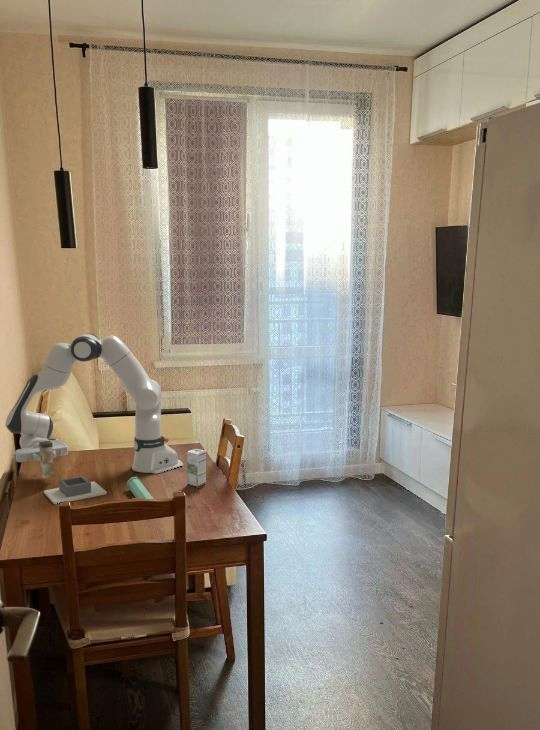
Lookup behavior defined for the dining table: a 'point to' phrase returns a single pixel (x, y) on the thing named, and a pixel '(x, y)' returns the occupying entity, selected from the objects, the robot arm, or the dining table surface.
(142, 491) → the container
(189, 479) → the syrup box
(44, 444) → the spice jar
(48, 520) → the dining table surface
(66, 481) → the collar stand
